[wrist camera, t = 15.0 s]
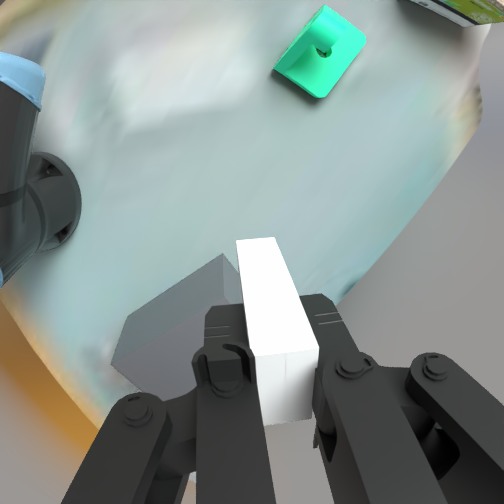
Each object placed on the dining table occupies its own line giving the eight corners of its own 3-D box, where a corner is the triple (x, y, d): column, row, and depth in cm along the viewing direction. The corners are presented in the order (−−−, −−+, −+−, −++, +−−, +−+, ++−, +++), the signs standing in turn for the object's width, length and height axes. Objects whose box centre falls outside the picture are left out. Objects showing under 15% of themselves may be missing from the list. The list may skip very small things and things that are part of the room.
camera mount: (317, 101, 40) (343, 99, 31) (271, 69, 38) (286, 56, 29) (361, 41, 37) (395, 28, 28) (319, 9, 35) (344, -14, 25)
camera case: (173, 360, 56) (167, 410, 45) (127, 316, 51) (110, 364, 40) (266, 307, 53) (277, 356, 42) (222, 253, 48) (224, 296, 37)
